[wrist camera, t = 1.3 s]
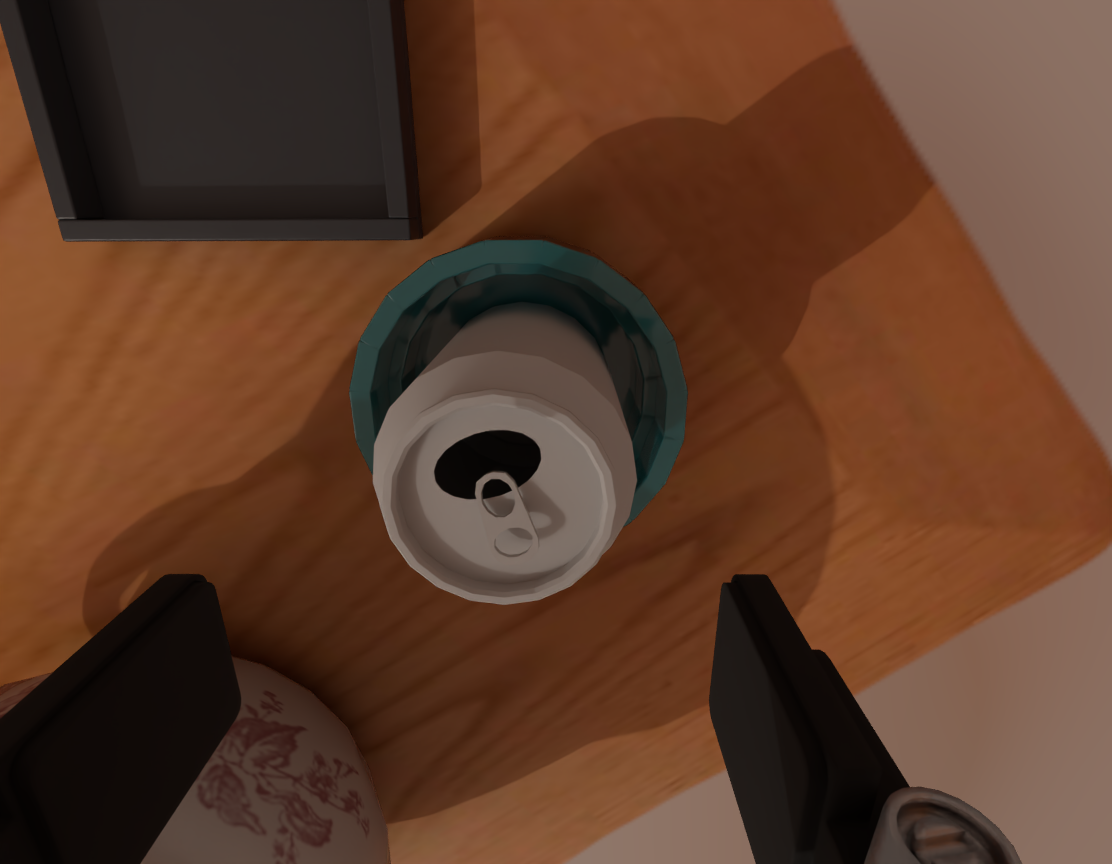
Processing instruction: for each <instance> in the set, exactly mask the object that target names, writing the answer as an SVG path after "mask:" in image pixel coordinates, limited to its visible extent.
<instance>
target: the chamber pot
mask: <svg viewBox="0 0 1112 864" xmlns="http://www.w3.org/2000/svg"><path fill="white" fill-rule="evenodd" d="M232 660H233V664H234V668H235V672H236V676H237V681H238V685H239V689H240V693H241V707H240V711H239V714H238V716H237V718H236V720H235V721H234V723H233V724H232V726H231V727H230V729H229V730H228V732H227V733H226V735H225V736H224V738H223V739H222V741H221V742H220V744H219V745H218V747H217V749H216V750H215V752H214V753H213V755H212V756H211V758H210V759H209V761H208V762H207V764H206V765H205V767H204V768H203V770H202V771H201V773H200V774H199V776H198V777H197V779H196V780H195V782H194V783H193V785H192V786H191V788H190V789H189V791H188V792H187V794H186V796H185V797H184V799H183V800H182V802H181V803H180V805H179V806H178V808H177V809H176V811H175V812H174V814H173V815H172V817H171V818H170V820H169V821H168V823H167V824H166V826H165V827H164V829H163V830H162V832H161V833H160V835H159V836H158V838H157V839H156V841H155V842H154V844H153V846H152V847H151V849H150V850H149V852H148V853H147V855H146V856H145V858H144V859H143V861H142V862H141V864H391V860H390V850H389V839H388V829H387V825H386V822H385V819H384V816H383V812H382V809H381V806H380V802H379V799H378V796H377V793H376V789H375V786H374V783H373V779H372V776H371V773H370V770H369V766H368V764H367V763H366V761H365V759H364V757H363V755H362V753H361V751H360V750H359V748H358V746H357V744H356V742H355V740H354V739H353V737H352V735H351V733H350V731H349V729H348V728H347V726H346V725H345V724H344V723H343V722H342V720H341V719H340V718H339V717H338V716H337V715H335V714H334V713H333V712H332V711H331V710H330V709H329V708H328V707H327V706H326V705H325V704H324V703H323V702H322V701H321V700H320V699H319V698H318V697H317V696H316V695H315V694H314V693H312V692H311V691H310V690H309V689H308V688H306V687H304V686H303V685H301V684H299V683H297V682H295V681H294V680H292V679H290V678H288V677H286V676H285V675H283V674H281V673H279V672H277V671H276V670H274V669H272V668H270V667H268V666H267V665H264V664H261V663H257V662H253V661H250V660H246V659H243V658H239V657H236V656H232ZM52 673H53V672H52ZM52 673H48V674H44V675H40V676H36V677H32V678H28V679H25V680H21V681H17V682H13V683H9V684H5V685H3V686H1V687H0V718H1V717H3V716H4V715H5V714H6V713H7V712H8V711H9V710H11V709H12V708H13V707H14V706H15V705H16V704H17V703H19V702H20V701H21V700H22V699H23V698H24V697H25V696H27V695H28V694H29V693H30V692H31V691H32V690H33V689H34V688H36V687H37V686H38V685H39V684H40V683H41V682H42V681H44V680H45V679H46V678H47V677H48V676H49V675H50V674H52Z"/></svg>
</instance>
